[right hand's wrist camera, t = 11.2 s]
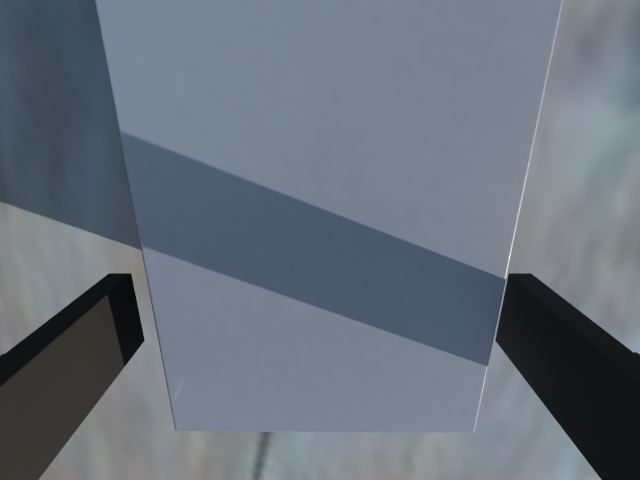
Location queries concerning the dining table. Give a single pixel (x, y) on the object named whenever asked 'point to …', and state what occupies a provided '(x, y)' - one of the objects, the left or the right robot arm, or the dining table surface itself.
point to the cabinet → (327, 199)
